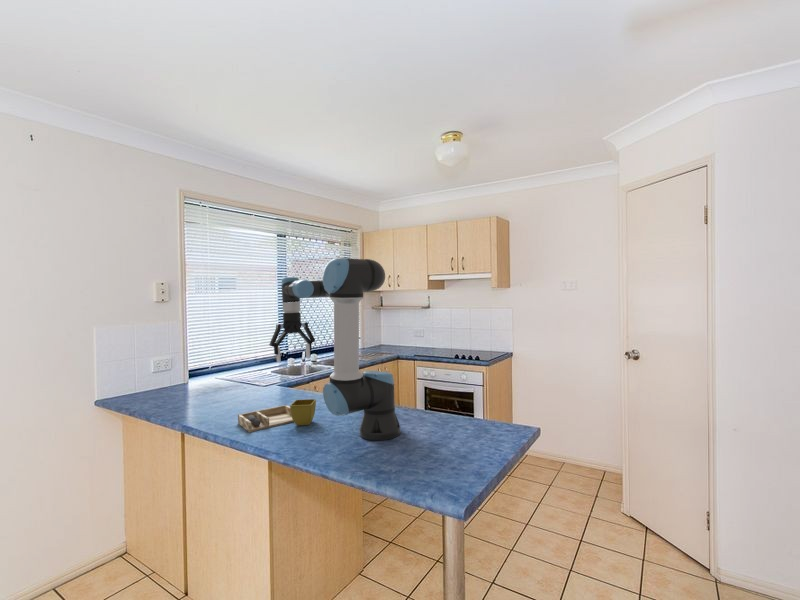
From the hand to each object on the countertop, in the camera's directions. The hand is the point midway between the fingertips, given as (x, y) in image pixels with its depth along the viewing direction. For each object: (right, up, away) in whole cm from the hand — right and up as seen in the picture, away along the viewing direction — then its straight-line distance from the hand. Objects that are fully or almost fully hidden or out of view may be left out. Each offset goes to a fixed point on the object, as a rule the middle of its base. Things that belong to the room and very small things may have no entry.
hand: (293, 360), depth 175 cm
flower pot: (+7, -25, -12) cm, 28 cm away
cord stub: (-13, -24, -12) cm, 30 cm away
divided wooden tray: (-8, -25, -8) cm, 27 cm away
